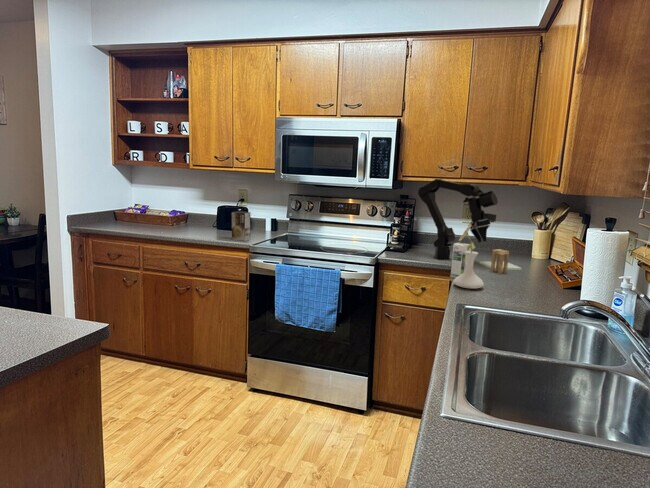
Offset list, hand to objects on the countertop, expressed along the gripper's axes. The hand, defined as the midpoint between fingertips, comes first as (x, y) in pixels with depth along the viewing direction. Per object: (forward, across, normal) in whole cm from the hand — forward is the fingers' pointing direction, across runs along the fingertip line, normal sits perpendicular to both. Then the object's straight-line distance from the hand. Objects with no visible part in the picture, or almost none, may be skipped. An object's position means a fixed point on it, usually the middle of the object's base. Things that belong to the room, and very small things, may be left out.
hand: (482, 241), depth 218 cm
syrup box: (+13, -25, +18) cm, 34 cm away
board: (+13, +3, -6) cm, 15 cm away
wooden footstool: (+15, -10, -2) cm, 18 cm away
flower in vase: (+16, -41, +19) cm, 48 cm away
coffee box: (-27, +36, +125) cm, 132 cm away
